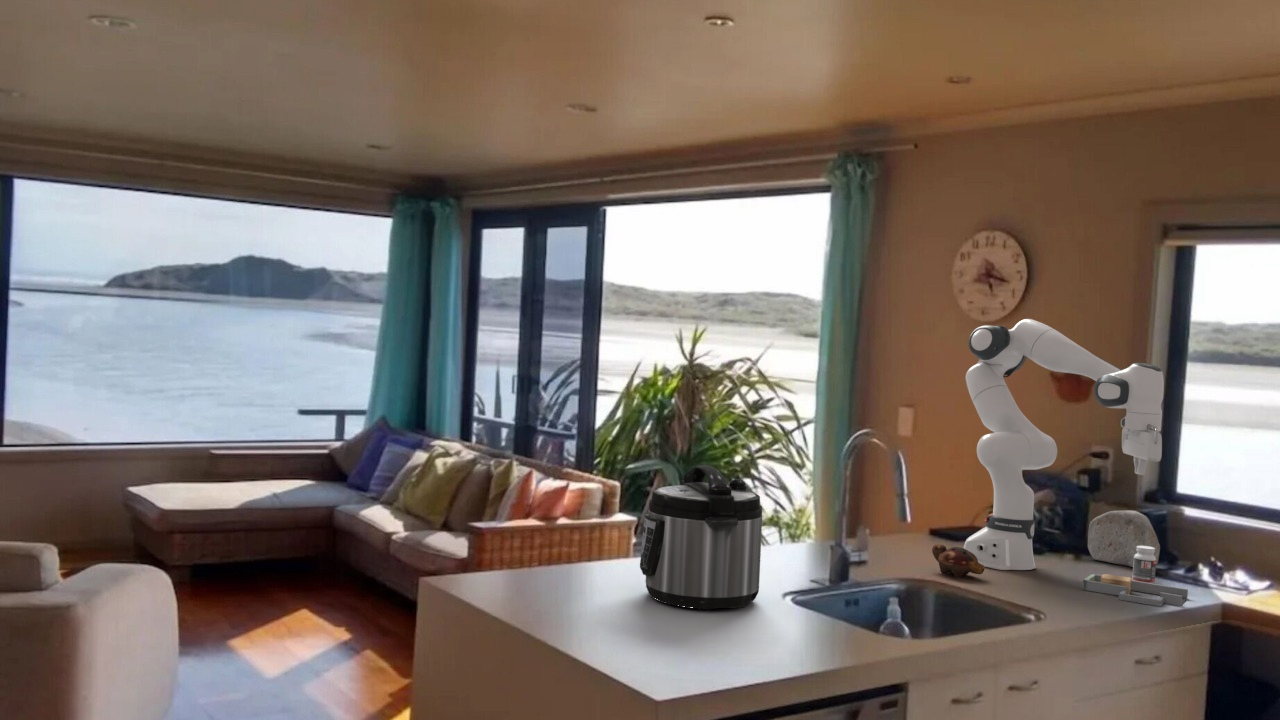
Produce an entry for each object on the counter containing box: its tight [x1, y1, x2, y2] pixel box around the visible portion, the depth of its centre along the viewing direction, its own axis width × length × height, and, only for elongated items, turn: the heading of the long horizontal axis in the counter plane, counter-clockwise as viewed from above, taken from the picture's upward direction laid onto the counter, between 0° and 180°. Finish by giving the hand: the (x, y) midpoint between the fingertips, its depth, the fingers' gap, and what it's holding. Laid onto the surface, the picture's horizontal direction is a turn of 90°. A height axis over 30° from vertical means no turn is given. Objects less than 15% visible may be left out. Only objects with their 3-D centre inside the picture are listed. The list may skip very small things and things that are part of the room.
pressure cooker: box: [639, 464, 763, 610], centre depth 269 cm, size 30×28×32 cm
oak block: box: [1101, 573, 1132, 595], centre depth 303 cm, size 7×6×4 cm
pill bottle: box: [1131, 546, 1157, 584], centre depth 317 cm, size 6×6×10 cm
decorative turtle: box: [931, 543, 986, 578], centre depth 313 cm, size 10×15×8 cm, turn 56°
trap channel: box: [1082, 573, 1189, 607], centre depth 299 cm, size 24×16×2 cm, turn 56°
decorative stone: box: [1087, 509, 1161, 568], centre depth 342 cm, size 17×20×10 cm
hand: (1139, 474), depth 307 cm, fingers closed
